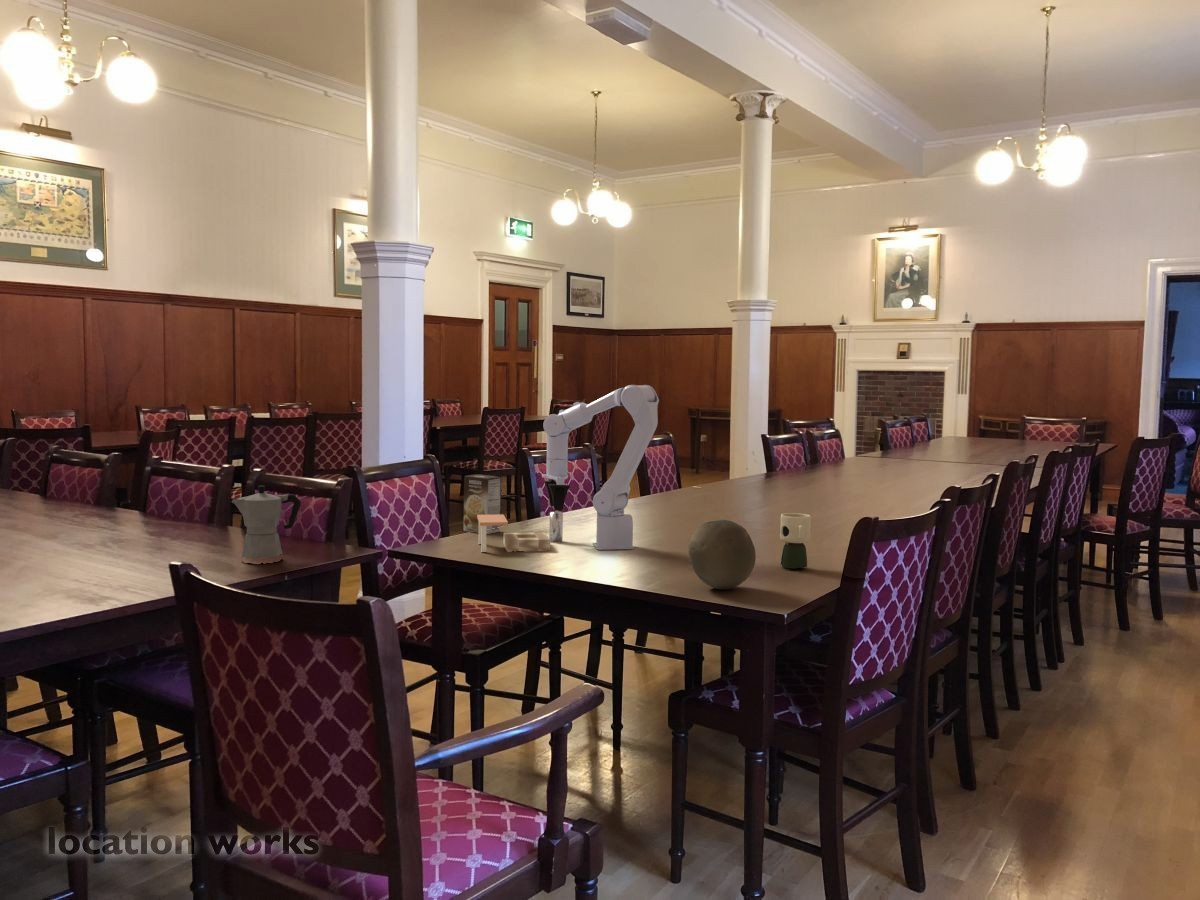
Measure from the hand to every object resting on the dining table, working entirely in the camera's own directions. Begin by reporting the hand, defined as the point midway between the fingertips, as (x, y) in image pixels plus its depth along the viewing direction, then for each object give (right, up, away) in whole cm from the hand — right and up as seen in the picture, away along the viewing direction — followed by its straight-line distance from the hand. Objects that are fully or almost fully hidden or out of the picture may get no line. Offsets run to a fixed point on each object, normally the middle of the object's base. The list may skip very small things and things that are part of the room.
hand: (556, 508), depth 248 cm
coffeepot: (-67, -11, -32) cm, 75 cm away
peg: (0, -9, +1) cm, 9 cm away
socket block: (-7, -10, -9) cm, 15 cm away
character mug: (+59, -13, -29) cm, 67 cm away
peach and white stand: (-16, -10, -11) cm, 22 cm away
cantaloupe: (+38, -14, -53) cm, 66 cm away
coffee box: (-22, -8, +15) cm, 28 cm away
